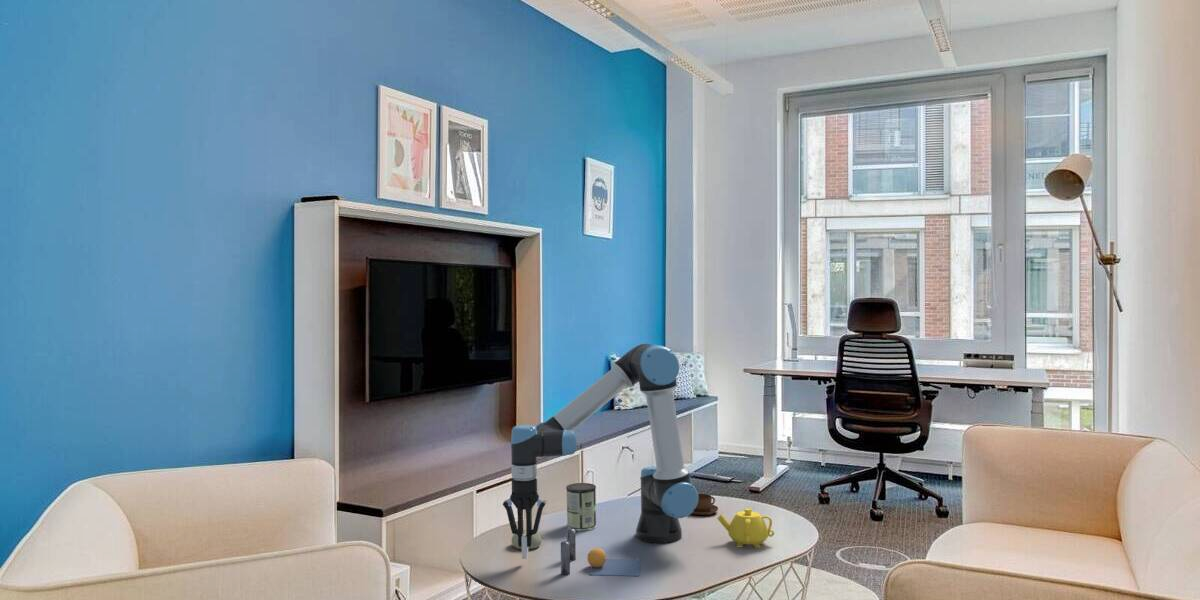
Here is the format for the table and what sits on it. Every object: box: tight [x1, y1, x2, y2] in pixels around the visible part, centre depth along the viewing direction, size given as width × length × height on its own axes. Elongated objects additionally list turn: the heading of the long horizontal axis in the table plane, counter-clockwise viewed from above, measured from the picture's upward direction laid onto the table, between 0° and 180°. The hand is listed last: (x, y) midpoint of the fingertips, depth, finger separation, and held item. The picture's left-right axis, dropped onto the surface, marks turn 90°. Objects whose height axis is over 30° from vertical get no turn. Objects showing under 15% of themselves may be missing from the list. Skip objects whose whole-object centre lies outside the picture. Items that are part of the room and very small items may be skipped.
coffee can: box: [565, 482, 597, 532], centre depth 273 cm, size 10×10×14 cm
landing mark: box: [589, 557, 642, 577], centre depth 232 cm, size 14×14×1 cm
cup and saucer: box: [691, 493, 719, 516], centre depth 290 cm, size 12×12×6 cm
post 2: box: [566, 528, 577, 562], centre depth 239 cm, size 3×3×9 cm
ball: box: [587, 547, 607, 568], centre depth 232 cm, size 6×6×6 cm
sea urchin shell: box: [511, 529, 543, 550], centre depth 252 cm, size 9×8×8 cm
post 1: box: [560, 540, 571, 576], centre depth 227 cm, size 3×3×9 cm
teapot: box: [716, 507, 775, 548], centre depth 253 cm, size 14×14×11 cm
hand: (525, 557), depth 234 cm, fingers closed
